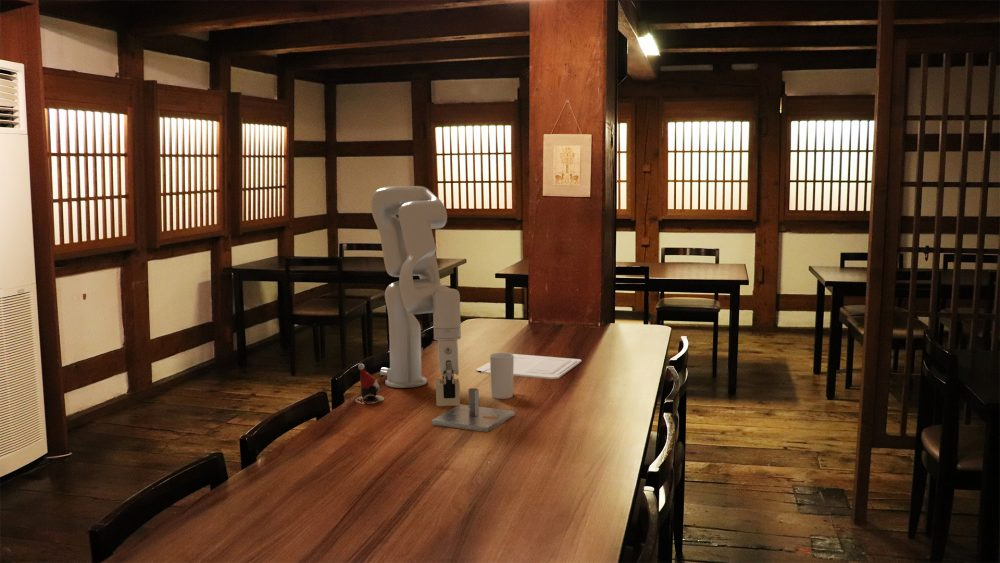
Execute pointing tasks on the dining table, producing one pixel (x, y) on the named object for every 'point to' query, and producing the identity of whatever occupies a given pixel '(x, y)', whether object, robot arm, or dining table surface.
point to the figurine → (368, 387)
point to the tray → (538, 366)
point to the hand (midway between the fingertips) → (448, 393)
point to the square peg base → (473, 415)
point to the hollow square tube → (440, 394)
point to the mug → (501, 375)
